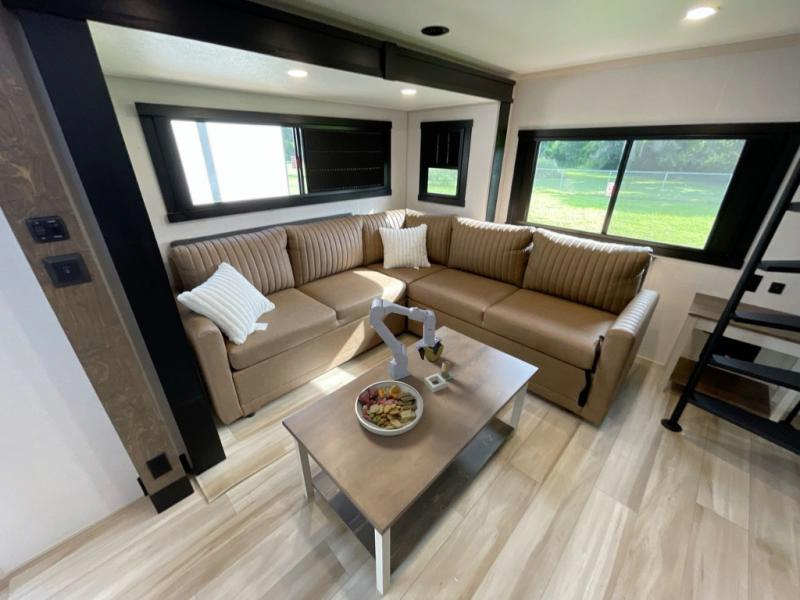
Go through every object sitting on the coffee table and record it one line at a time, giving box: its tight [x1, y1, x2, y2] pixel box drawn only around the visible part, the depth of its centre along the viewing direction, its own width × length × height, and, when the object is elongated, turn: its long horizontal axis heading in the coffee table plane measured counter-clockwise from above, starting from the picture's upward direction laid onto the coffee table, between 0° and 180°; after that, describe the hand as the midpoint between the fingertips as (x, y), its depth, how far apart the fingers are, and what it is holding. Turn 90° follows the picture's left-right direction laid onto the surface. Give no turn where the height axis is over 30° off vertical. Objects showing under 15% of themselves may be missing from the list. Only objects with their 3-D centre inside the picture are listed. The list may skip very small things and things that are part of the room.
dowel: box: [440, 360, 451, 379], centre depth 157 cm, size 4×4×8 cm
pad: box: [438, 372, 454, 382], centre depth 159 cm, size 6×6×1 cm
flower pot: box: [423, 343, 445, 362], centre depth 171 cm, size 9×9×9 cm
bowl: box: [354, 380, 424, 437], centre depth 137 cm, size 30×30×8 cm
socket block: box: [423, 372, 448, 393], centre depth 153 cm, size 8×8×3 cm
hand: (428, 356), depth 157 cm, fingers open, 7 cm apart
